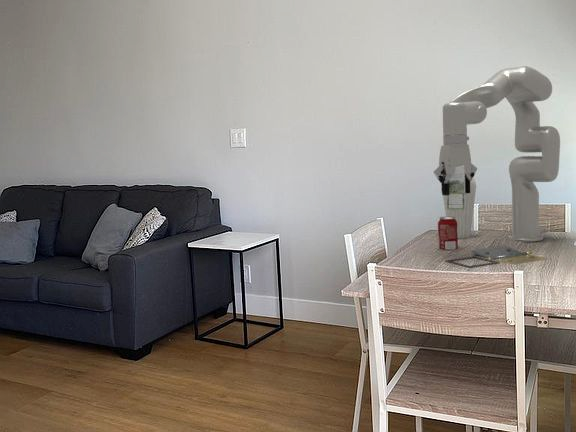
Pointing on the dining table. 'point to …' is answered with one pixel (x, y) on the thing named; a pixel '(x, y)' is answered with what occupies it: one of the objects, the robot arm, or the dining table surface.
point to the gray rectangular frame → (472, 265)
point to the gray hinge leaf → (498, 252)
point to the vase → (463, 212)
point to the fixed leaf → (520, 259)
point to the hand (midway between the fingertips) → (456, 193)
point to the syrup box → (457, 189)
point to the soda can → (447, 233)
